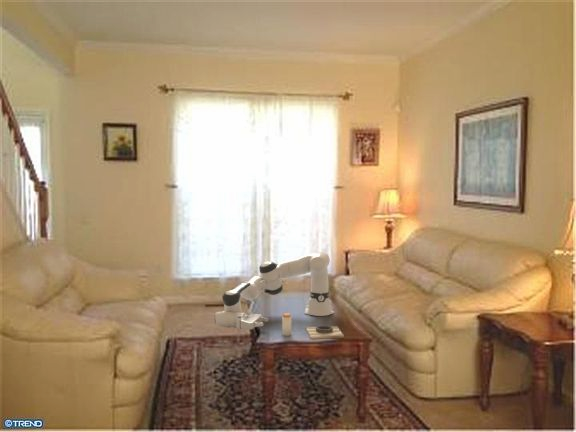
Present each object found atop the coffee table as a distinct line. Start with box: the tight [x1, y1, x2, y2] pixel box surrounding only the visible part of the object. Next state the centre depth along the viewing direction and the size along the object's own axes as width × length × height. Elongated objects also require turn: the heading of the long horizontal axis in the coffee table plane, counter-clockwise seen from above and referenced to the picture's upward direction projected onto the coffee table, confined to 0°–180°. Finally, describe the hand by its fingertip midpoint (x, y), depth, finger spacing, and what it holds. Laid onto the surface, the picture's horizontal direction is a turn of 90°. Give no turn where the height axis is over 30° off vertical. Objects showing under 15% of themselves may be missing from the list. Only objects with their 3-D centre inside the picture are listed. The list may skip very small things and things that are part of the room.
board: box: [305, 325, 345, 340], centre depth 292 cm, size 18×18×3 cm
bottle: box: [281, 313, 292, 337], centre depth 290 cm, size 5×5×11 cm
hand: (265, 322), depth 292 cm, fingers open, 8 cm apart
